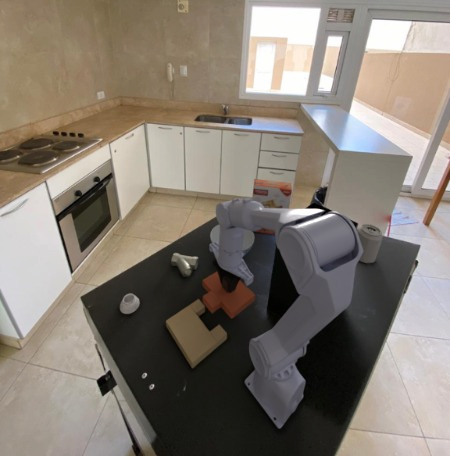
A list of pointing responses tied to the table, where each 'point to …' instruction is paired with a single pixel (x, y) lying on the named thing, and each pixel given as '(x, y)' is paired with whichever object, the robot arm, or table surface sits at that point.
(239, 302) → the terracotta pad
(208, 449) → the table surface
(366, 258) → the can
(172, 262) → the pipe fitting
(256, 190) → the cracker box
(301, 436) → the table surface
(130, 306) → the white jar
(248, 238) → the chinaware
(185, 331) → the sand pad
